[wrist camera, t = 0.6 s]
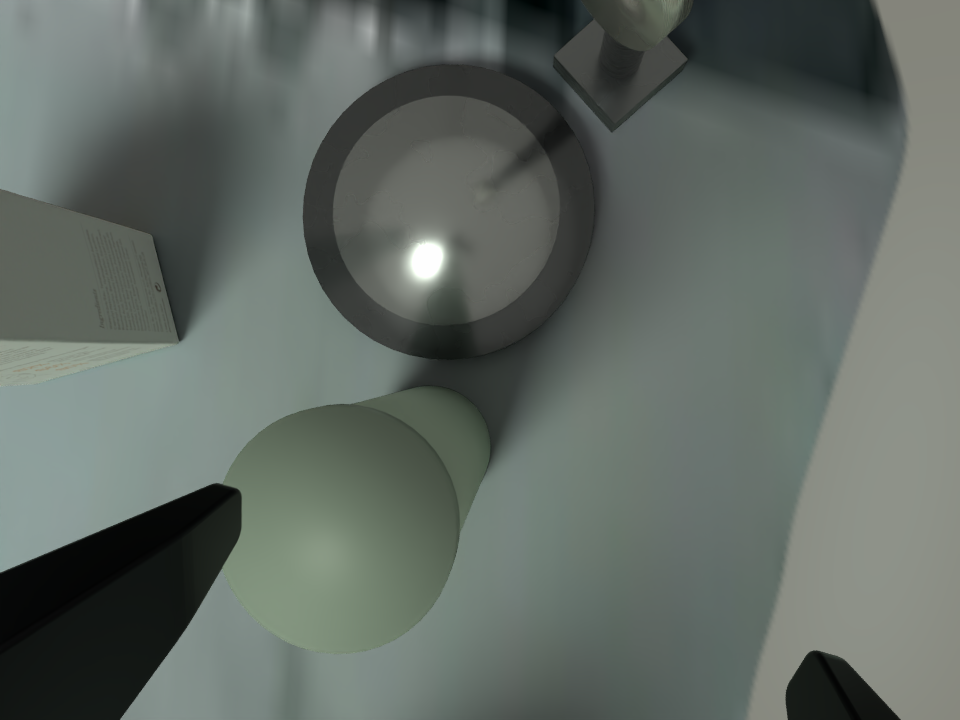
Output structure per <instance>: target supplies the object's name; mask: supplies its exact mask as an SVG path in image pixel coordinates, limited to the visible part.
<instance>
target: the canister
mask: <svg viewBox="0 0 960 720" xmlns="http://www.w3.org/2000/svg"><path fill="white" fill-rule="evenodd" d="M490 450H491V444H490V436H489V431H488V428H487V425H486V423H485V421H484V419H483V417H482V415H481V413H480V412H479V410H478V409H477V408H476V407H475V406H474V405H473V403H471V402H470V401H469V400H468V399H467V398H466V397H464V396H463V395H461V394H459V393H457V392H455V391H453V390H451V389H448V388H444V387H439V386H420V387H415V388H411V389H408V390H404V391H400V392H396V393H392V394H388V395H385V396H381V397H377V398H373V399H369V400H366V401H362V402H358V403H354V404H336V405H326V406H321V407H316V408H312V409H307V410H303V411H299V412H297V413H294V414H291V415H288V416H286V417H284V418H282V419H280V420H278V421H276V422H274V423H272V424H271V425H269V426H268V427H266V428H265V429H263V430H262V431H261V432H259V433H258V434H257V435H256V436H255V437H254V438H253V439H252V440H251V441H249V442H248V443H247V445H246V446H245V447H244V448H243V449H242V451H241V452H240V453H239V454H238V456H237V457H236V459H235V461H234V462H233V464H232V465H231V467H230V469H229V471H228V473H227V475H226V477H225V480H224V482H223V485H227V486H231V487H234V488H237V489H239V490H240V492H241V494H242V528H241V534H240V537H239V539H238V541H237V543H236V545H235V547H234V549H233V550H232V552H231V554H230V555H229V557H228V559H227V561H226V562H225V564H224V566H223V567H222V569H223V572H224V575H225V577H226V579H227V581H228V583H229V585H230V588H231V590H232V591H233V593H234V594H235V596H236V597H237V599H238V600H239V602H240V603H241V605H242V606H243V607H244V608H245V609H246V611H247V612H248V613H249V614H250V615H251V616H252V617H253V618H254V619H255V620H256V621H257V622H258V623H259V624H260V625H261V626H263V627H264V628H265V629H267V630H268V631H270V632H271V633H272V634H274V635H275V636H277V637H279V638H281V639H283V640H284V641H286V642H288V643H290V644H293V645H296V646H298V647H301V648H303V649H307V650H312V651H316V652H321V653H330V654H349V653H356V652H362V651H367V650H370V649H373V648H377V647H380V646H382V645H384V644H387V643H389V642H391V641H393V640H395V639H397V638H398V637H400V636H401V635H403V634H404V633H406V632H407V631H409V630H410V629H411V628H412V627H413V626H415V625H416V624H417V623H418V622H419V621H420V620H421V619H422V618H423V617H424V616H425V615H426V614H427V612H428V611H429V610H430V609H431V608H432V606H433V605H434V603H435V602H436V600H437V599H438V597H439V596H440V594H441V592H442V590H443V588H444V585H445V583H446V581H447V579H448V576H449V574H450V571H451V569H452V566H453V563H454V560H455V557H456V553H457V548H458V543H459V535H460V531H461V529H462V527H463V524H464V522H465V520H466V517H467V515H468V512H469V510H470V508H471V505H472V503H473V500H474V498H475V496H476V493H477V491H478V489H479V486H480V484H481V481H482V479H483V477H484V474H485V472H486V469H487V466H488V463H489V459H490Z"/></svg>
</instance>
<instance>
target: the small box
mask: <svg viewBox="0 0 960 720" xmlns="http://www.w3.org/2000/svg"><path fill="white" fill-rule="evenodd" d="M178 343H179V340H178V336H177V332H176V328H175V324H174V320H173V316H172V312H171V308H170V304H169V300H168V297H167V293H166V289H165V285H164V281H163V277H162V273H161V269H160V265H159V261H158V258H157V254H156V250H155V246H154V242H153V237H152V235H151V234H149V233H146V232H142V231H139V230H135V229H132V228H129V227H126V226H122V225H119V224H115V223H112V222H109V221H105V220H102V219H99V218H96V217H92V216H89V215H85V214H82V213H78V212H75V211H72V210H68V209H65V208H62V207H58V206H55V205H52V204H48V203H45V202H42V201H38V200H35V199H32V198H28V197H25V196H21V195H18V194H15V193H12V192H9V191H5V190H2V189H0V386H13V385H27V384H38V383H41V382H44V381H47V380H51V379H55V378H58V377H62V376H65V375H69V374H72V373H76V372H79V371H83V370H86V369H90V368H94V367H97V366H100V365H104V364H108V363H111V362H115V361H118V360H122V359H126V358H129V357H133V356H136V355H139V354H143V353H147V352H150V351H154V350H157V349H161V348H165V347H168V346H173V345H176V344H178Z"/></svg>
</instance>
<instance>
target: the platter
mask: <svg viewBox="0 0 960 720" xmlns="http://www.w3.org/2000/svg"><path fill="white" fill-rule="evenodd" d="M594 212H595V204H594V191H593V184H592V179H591V175H590V170H589V166H588V164H587V161H586V158H585V155H584V152H583V150H582V148H581V146H580V144H579V142H578V140H577V138H576V136H575V134H574V132H573V131H572V130H571V128H570V127H569V125H568V124H567V122H566V121H565V120H564V118H563V117H562V116H561V115H560V114H559V112H558V111H557V110H556V109H555V108H554V107H553V106H552V105H551V104H550V103H549V102H548V101H547V100H546V99H544V98H543V97H542V96H541V95H539V94H538V93H537V92H536V91H534V90H533V89H531V88H530V87H528V86H526V85H525V84H523V83H521V82H520V81H518V80H516V79H514V78H511V77H509V76H507V75H504V74H502V73H500V72H496V71H493V70H489V69H486V68H482V67H475V66H468V65H436V66H428V67H423V68H419V69H415V70H411V71H407V72H404V73H402V74H399V75H397V76H395V77H392V78H390V79H387V80H386V81H384V82H382V83H380V84H379V85H377V86H375V87H373V88H372V89H370V90H369V91H368V92H366V93H365V94H364V95H362V96H361V97H360V98H358V99H357V100H356V101H355V102H354V103H353V104H352V105H351V106H349V107H348V108H347V109H346V110H345V111H344V112H343V113H342V115H341V116H340V117H339V118H338V120H337V121H336V122H335V123H334V124H333V126H332V127H331V128H330V130H329V132H328V133H327V135H326V136H325V138H324V140H323V141H322V143H321V145H320V147H319V149H318V151H317V153H316V156H315V158H314V160H313V163H312V166H311V169H310V172H309V175H308V179H307V183H306V189H305V195H304V205H303V225H304V237H305V242H306V247H307V251H308V255H309V258H310V261H311V264H312V267H313V270H314V273H315V275H316V277H317V279H318V281H319V283H320V285H321V287H322V289H323V290H324V292H325V293H326V295H327V296H328V298H329V299H330V301H331V302H332V304H333V305H334V306H335V307H336V308H337V310H338V311H339V312H340V313H341V314H342V315H343V316H344V317H345V319H347V320H348V321H349V322H350V323H351V324H352V325H353V326H355V327H356V328H357V329H358V330H359V331H361V332H362V333H364V334H365V335H367V336H368V337H370V338H371V339H373V340H374V341H376V342H378V343H380V344H382V345H384V346H386V347H388V348H391V349H393V350H396V351H399V352H402V353H405V354H408V355H412V356H418V357H423V358H428V359H446V360H449V359H463V358H471V357H476V356H481V355H485V354H489V353H492V352H494V351H497V350H500V349H503V348H505V347H507V346H509V345H511V344H513V343H515V342H517V341H519V340H521V339H523V338H524V337H525V336H527V335H528V334H530V333H531V332H533V331H534V330H536V329H537V328H538V327H539V326H540V325H541V324H543V323H544V322H545V321H546V320H547V319H548V318H549V317H550V316H551V315H552V314H553V313H554V312H555V311H556V309H557V308H558V307H559V306H560V305H561V304H562V302H563V301H564V300H565V298H566V297H567V295H568V294H569V292H570V290H571V289H572V287H573V286H574V284H575V282H576V280H577V278H578V276H579V274H580V272H581V270H582V268H583V266H584V263H585V260H586V257H587V254H588V251H589V248H590V243H591V238H592V233H593V228H594Z"/></svg>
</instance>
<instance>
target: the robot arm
mask: <svg viewBox="0 0 960 720" xmlns="http://www.w3.org/2000/svg"><path fill="white" fill-rule="evenodd" d="M241 528H242V494H241V492H240V490H239V489H237V488H234V487H231V486H227V485H223V484H220V483H215V484H211V485H209V486H206V487H204V488H201V489H199V490H197V491H194V492H192V493H189V494H187V495H185V496H182V497H180V498H177V499H175V500H173V501H170V502H168V503H166V504H163V505H161V506H158V507H156V508H154V509H151V510H149V511H146V512H144V513H142V514H139V515H137V516H135V517H132V518H130V519H127V520H125V521H123V522H120V523H118V524H115V525H113V526H111V527H108V528H106V529H103V530H101V531H99V532H96V533H94V534H92V535H89V536H87V537H84V538H82V539H80V540H77V541H75V542H72V543H70V544H68V545H65V546H63V547H60V548H58V549H56V550H53V551H51V552H49V553H46V554H44V555H41V556H39V557H37V558H34V559H32V560H29V561H27V562H25V563H22V564H20V565H18V566H15V567H13V568H10V569H8V570H6V571H3V572H1V573H0V720H120V719H121V717H122V716H123V715H124V713H125V712H126V711H127V709H128V708H129V707H130V705H131V704H132V702H133V701H134V700H135V698H136V697H137V696H138V694H139V693H140V691H141V690H142V689H143V687H144V686H145V685H146V683H147V682H148V681H149V679H150V678H151V676H152V675H153V674H154V672H155V671H156V670H157V668H158V667H159V665H160V664H161V663H162V661H163V660H164V659H165V657H166V656H167V655H168V653H169V652H170V650H171V649H172V648H173V646H174V645H175V644H176V642H177V641H178V639H179V638H180V636H181V635H182V634H183V632H184V631H185V629H186V628H187V626H188V625H189V623H190V621H191V620H192V618H193V617H194V615H195V613H196V612H197V610H198V608H199V607H200V605H201V603H202V601H203V600H204V598H205V596H206V595H207V593H208V591H209V589H210V588H211V586H212V584H213V583H214V581H215V579H216V578H217V576H218V574H219V572H220V571H221V569H222V567H223V566H224V564H225V562H226V561H227V559H228V557H229V555H230V554H231V552H232V550H233V549H234V547H235V545H236V543H237V541H238V539H239V537H240V534H241ZM786 708H787V716H788V720H901V719H899V717H898V716H897V715H896V714H895V713H894V712H893V711H892V710H891V709H890V708H889V707H888V706H887V704H886V703H885V702H884V701H883V700H882V699H881V698H880V697H879V696H878V695H877V694H876V693H875V692H874V691H873V689H872V688H871V687H870V686H869V685H868V684H867V683H866V682H865V681H864V680H863V679H862V678H861V677H860V676H859V675H858V673H857V672H856V671H855V670H854V669H853V668H852V667H851V666H850V665H849V664H848V663H847V662H846V661H845V660H844V659H842V658H840V657H838V656H835V655H831V654H828V653H824V652H821V651H811V652H809V653H808V654H807V655H806V657H805V658H804V660H803V661H802V663H801V665H800V666H799V668H798V669H797V671H796V673H795V674H794V676H793V677H792V679H791V680H790V682H789V684H788V687H787V690H786Z"/></svg>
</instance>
